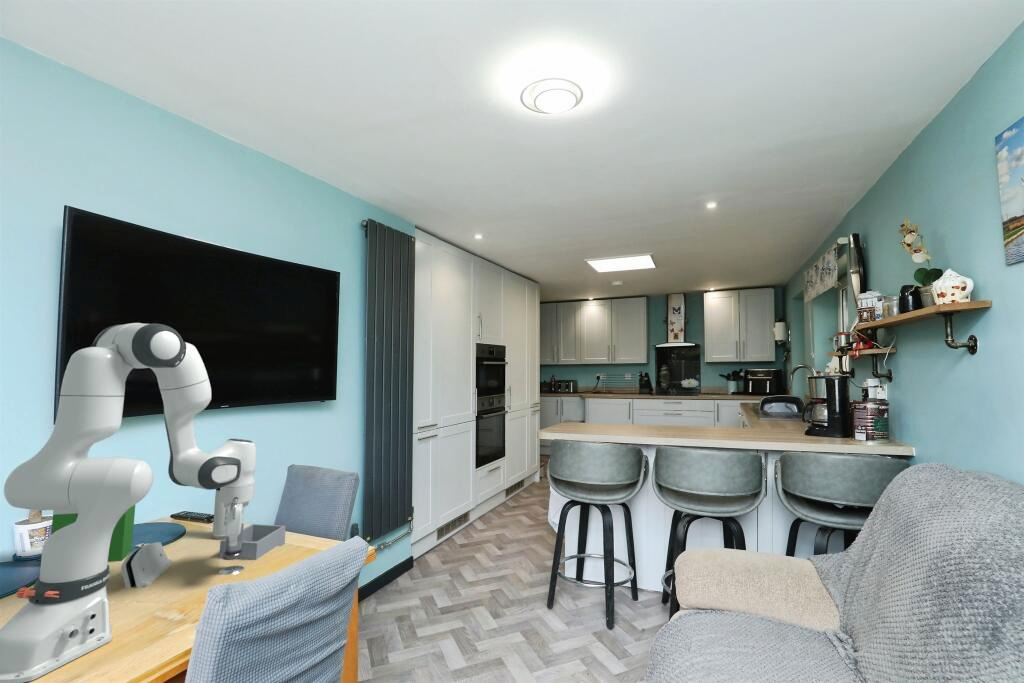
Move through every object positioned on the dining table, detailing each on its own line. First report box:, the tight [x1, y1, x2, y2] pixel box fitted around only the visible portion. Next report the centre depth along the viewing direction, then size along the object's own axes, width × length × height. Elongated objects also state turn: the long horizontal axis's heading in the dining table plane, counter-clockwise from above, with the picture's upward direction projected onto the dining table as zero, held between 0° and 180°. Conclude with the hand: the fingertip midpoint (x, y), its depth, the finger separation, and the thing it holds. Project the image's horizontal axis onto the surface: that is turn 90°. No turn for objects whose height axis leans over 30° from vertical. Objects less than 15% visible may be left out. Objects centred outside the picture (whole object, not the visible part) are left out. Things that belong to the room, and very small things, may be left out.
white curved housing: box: [121, 541, 174, 589], centre depth 134 cm, size 17×5×10 cm, turn 15°
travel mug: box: [212, 488, 228, 541], centre depth 169 cm, size 6×7×20 cm
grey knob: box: [222, 522, 245, 561], centre depth 140 cm, size 5×5×9 cm
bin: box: [218, 523, 286, 561], centre depth 156 cm, size 17×12×6 cm
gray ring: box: [218, 565, 245, 576], centre depth 139 cm, size 6×6×1 cm
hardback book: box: [50, 504, 136, 563], centre depth 146 cm, size 18×7×24 cm, turn 110°
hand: (233, 542), depth 139 cm, fingers closed on grey knob, 4 cm apart
